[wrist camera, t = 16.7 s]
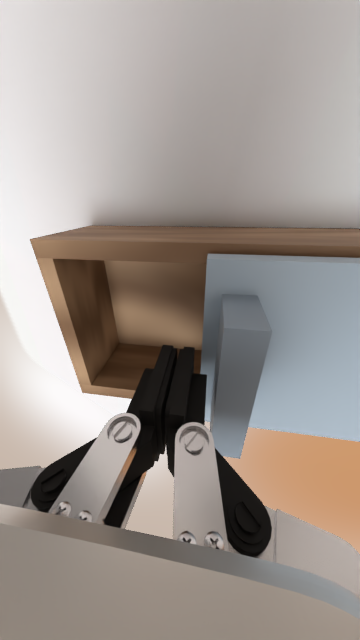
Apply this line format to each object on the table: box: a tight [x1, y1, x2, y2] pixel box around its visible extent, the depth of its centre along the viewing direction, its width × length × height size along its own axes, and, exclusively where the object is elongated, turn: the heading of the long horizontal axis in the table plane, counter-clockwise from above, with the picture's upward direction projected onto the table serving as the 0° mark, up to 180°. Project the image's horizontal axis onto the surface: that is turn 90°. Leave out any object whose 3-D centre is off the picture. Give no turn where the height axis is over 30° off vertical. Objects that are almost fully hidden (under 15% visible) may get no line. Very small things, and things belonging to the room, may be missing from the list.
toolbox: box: [30, 226, 360, 399], centre depth 15 cm, size 12×33×6 cm, turn 91°
